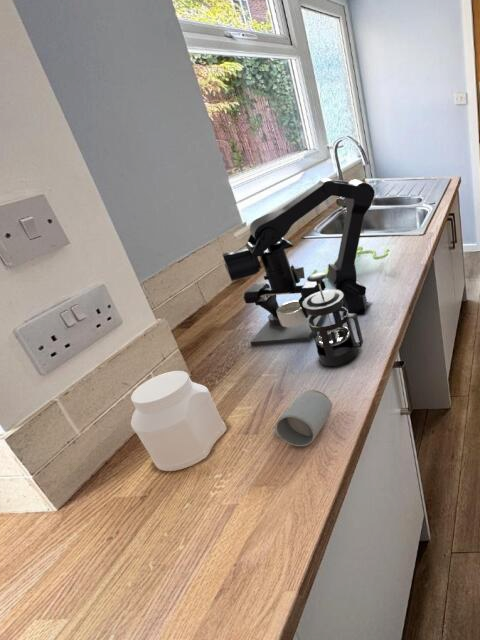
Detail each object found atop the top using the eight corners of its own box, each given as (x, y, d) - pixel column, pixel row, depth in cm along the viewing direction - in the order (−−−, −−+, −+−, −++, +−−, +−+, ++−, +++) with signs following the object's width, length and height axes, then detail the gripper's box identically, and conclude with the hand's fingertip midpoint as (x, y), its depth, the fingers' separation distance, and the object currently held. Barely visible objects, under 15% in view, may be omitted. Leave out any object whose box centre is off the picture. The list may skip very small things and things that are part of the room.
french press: (310, 370, 97) (283, 287, 87) (324, 346, 106) (301, 268, 96) (359, 366, 97) (338, 283, 88) (369, 342, 106) (351, 264, 96)
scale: (326, 314, 120) (324, 305, 119) (309, 341, 108) (306, 332, 106) (275, 318, 119) (272, 309, 118) (251, 346, 107) (248, 337, 106)
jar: (187, 422, 84) (157, 366, 77) (234, 419, 84) (208, 363, 78) (144, 473, 73) (105, 412, 67) (197, 469, 74) (163, 408, 67)
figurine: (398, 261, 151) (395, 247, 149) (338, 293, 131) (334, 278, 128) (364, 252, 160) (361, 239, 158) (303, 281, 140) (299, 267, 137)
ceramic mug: (338, 413, 84) (328, 385, 81) (319, 447, 77) (307, 417, 73) (290, 413, 85) (278, 385, 82) (266, 447, 78) (253, 417, 74)
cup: (312, 313, 113) (308, 299, 111) (302, 327, 107) (298, 313, 105) (287, 315, 113) (283, 301, 111) (276, 329, 107) (271, 315, 105)
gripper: (325, 251, 111) (338, 300, 117) (255, 256, 110) (273, 305, 116) (309, 269, 100) (325, 321, 107) (233, 275, 100) (253, 327, 106)
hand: (294, 318), depth 109 cm, fingers closed on cup, 7 cm apart
